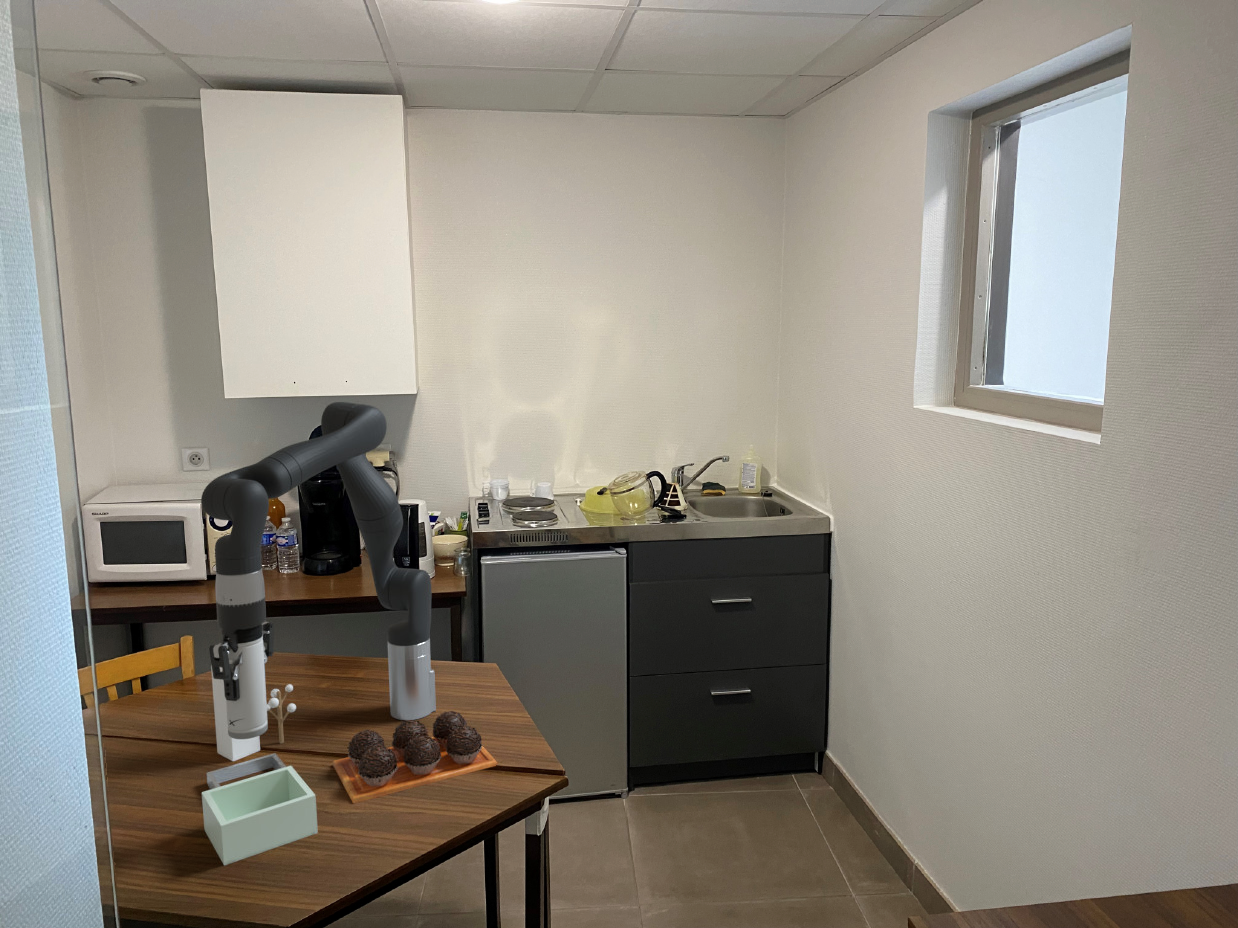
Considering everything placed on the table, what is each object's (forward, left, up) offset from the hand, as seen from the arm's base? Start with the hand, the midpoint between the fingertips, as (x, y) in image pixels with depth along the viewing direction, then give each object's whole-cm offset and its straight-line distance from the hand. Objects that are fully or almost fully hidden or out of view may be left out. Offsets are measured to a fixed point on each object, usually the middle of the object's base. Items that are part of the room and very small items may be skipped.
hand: (246, 691), depth 147 cm
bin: (0, +3, -24) cm, 25 cm away
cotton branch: (-13, -29, -25) cm, 40 cm away
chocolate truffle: (-31, -2, -25) cm, 40 cm away
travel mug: (0, 0, -7) cm, 7 cm away
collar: (-3, -14, -24) cm, 28 cm away
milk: (-5, -30, -25) cm, 39 cm away
